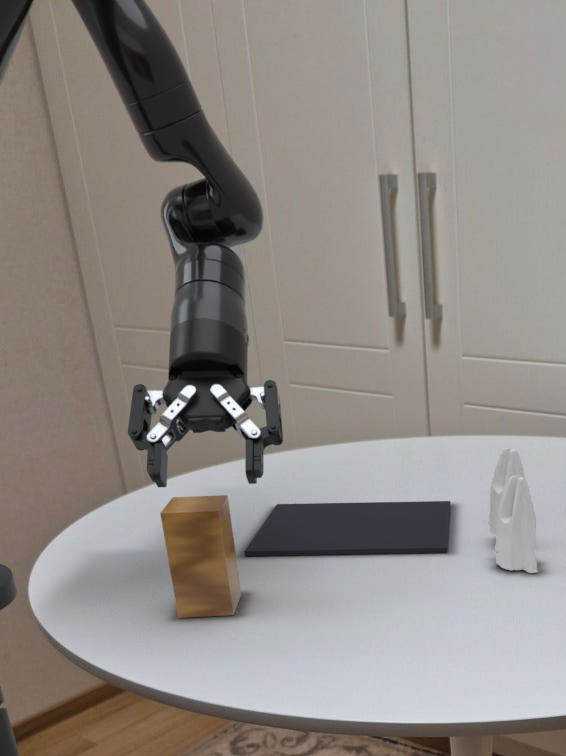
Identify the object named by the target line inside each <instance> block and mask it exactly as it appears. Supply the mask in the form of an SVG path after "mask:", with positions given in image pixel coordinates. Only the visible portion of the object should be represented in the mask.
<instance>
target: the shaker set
mask: <svg viewBox="0 0 566 756" xmlns="http://www.w3.org/2000/svg"><path fill="white" fill-rule="evenodd" d="M489 497H490V499H489V517H488V522H487V524H488V526H489V532H490V533H491V534H492V536H493V537H494V538H495V545H494V551H493V554H494V555H495V563H496V565H498V566H499V567H500V568H502V569H503V570H504V569H505V570H508V571H515V572H516V571H522V570H523V571H525V572H527V574H536V573H538V572H539V571H538V563H537V554H536V544H537V543H536V542H537V541H536V539H537V536H536V535H537V534H536V533H537V517H536V511H535V508H534V504H533V499H532V495H531V491H530V487H529V484H528V481H527V480H526V475H525V470H524V466H523V463H522V459H521V455H520V452H519V451H518V449H516V448H510V447H504V448H503V450H502V451H501V453H500V455H499V458H498V459H497V462H496V466H495V468H494V471H493V476H492V480H491V484H490V496H489Z"/></svg>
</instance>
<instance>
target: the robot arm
mask: <svg viewBox="0 0 566 756" xmlns="http://www.w3.org/2000/svg"><path fill="white" fill-rule="evenodd" d="M70 1H71V3H72V5H73V7H74V8H75V11H76V12H77V14H78V15H79V18H80V19H81V21H82V23H83V25H84V27H85V29H86V31H87V33H88V35H89V37H90V38H91V41H92V42H93V44H94V46H95V48H96V50H97V52H98V54H99V57H100V58H101V60H102V62H103V64H104V66H105V69H106V70H107V72H108V75H109V77H110V79H111V81H112V83H113V85H114V87H115V90H116V92H117V94H118V96H119V98H120V100H121V103H122V104H123V108H124V109H125V111H126V113H127V115H128V117H129V119H130V121H131V123H132V126H133V127H134V130H135V132H136V133H137V136H138V138H139V140H140V142H141V144H142V146H143V148H144V150H145V152H146V153H147V155H148V157H150V159H152V160H153V161H155V162H157V163H160V164H177V163H181V164H188V165H191V166H192V167H194V168H195V169H196V170H197V171H198V172H199V173H200V174H201V175H202V176H203V178H200V179H197V180H193V181H191V182H188V183H185V184H181V185H178V186H175V187H173V188H172V189H170V190H169V191H168V192H167V193H166V194H165V196H164V198H163V199H162V202H161V205H160V209H159V210H160V211H159V212H160V213H159V214H160V220H161V223H162V227H163V231H164V233H165V236H166V237H167V241H168V244H169V249H170V252H171V257H172V262H173V265H174V271H175V272H174V273H175V274H174V298H173V305H172V309H171V314H170V327H169V333H170V334H169V351H168V352H169V353H168V374H167V375H168V380H167V383H166V385H165V387H164V388H163V389H159V390H158V389H147V387H146V385H144V384H143V383H138V384H136V385H134V386H133V389H132V396H131V403H130V411H129V417H128V418H129V419H128V426H127V435H128V436H129V438H130V440H131V441H132V443H133V445H134V447H135V449H136V450H137V451H147V455H146V472H147V475H148V476H149V478H150V480H151V481H152V483H155V484H156V486H157V488H167V485H168V463H169V461H168V460H169V455H168V453H167V452H168V451H169V450H170V448H172V447H173V445H174V444H175V443H176V442H181V441H182V440H183V439H184V438H185V436H187V434H188V433H189V432H190V431H192V433H193V434H201V433H206V432H216V433H226V432H227V431H226V430H227V429H231V428H232V430H233V431H234V432H235V433H236V434H237V435H238V437H240V439H242V440H244V441H245V463H244V464H245V465H244V466H245V469H244V470H245V477H246V480H247V483H248V485H255V484H258V479H261V478H262V477H263V475H264V473H265V472H264V451H265V449H266V448H267V447H269V446H272V445H273V446H281V445H282V444H283V442H284V431H283V419H282V408H281V406H282V405H281V398H280V394H279V390H278V386H277V382H276V381H274V380H273V379H269V380H268V379H267V380H266V381H264V383H263V386H252V387H250V385H249V384H248V347H249V343H250V337H249V334H248V333H249V332H248V330H249V329H248V327H249V326H248V318H247V313H246V270H245V265H244V263H243V261H242V259H241V257H240V256H239V254H237V253H236V252H235V251H234V250H233V249H232V248H234V247H238V246H242V245H245V244H248V243H251V242H253V241H255V240H256V239H258V238H259V236H260V235H261V234H262V231H263V229H264V222H265V221H264V220H265V219H264V218H265V217H264V209H263V205H262V201H261V199H260V197H259V194H258V193H257V191H256V189H255V188H254V186H253V184H252V183H251V181H250V180H249V178H248V177H247V176H246V174H245V173H244V172H243V170H242V169H241V168H240V166H239V165H238V164H237V162H236V161H235V160H234V158H233V157H232V156H231V154H230V153H229V151H228V150H227V149H226V147H225V146H224V144H223V143H222V141H221V139H220V137H218V135H217V134H216V132H215V130H214V129H213V127H212V126H211V123H210V122H209V120H208V118H207V116H206V113H205V111H204V109H203V108H202V104H201V102H200V99H199V97H198V95H197V92H196V90H195V87H194V86H193V83H192V81H191V79H190V76H189V74H188V71H187V69H186V67H185V64H184V62H183V61H182V59H181V57H180V56H181V55H180V54H179V52H178V50H177V49H176V47H175V45H174V43H173V42H172V39H171V38H170V36H169V34H168V33H167V31H166V30H165V28H164V27H163V25H162V23H161V22H160V21H159V19H158V18H157V16H156V15H155V14H154V12H153V10H152V9H151V8H150V5H148V3H147V2H146V0H70ZM34 3H35V0H0V86H1V85H2V83H3V81H4V79H5V77H6V74H7V72H8V69H9V66H10V64H11V61H12V59H13V57H14V54H15V52H16V50H17V47H18V44H19V42H20V40H21V37H22V35H23V32H24V30H25V27H26V24H27V22H28V20H29V16H30V14H31V11H32V8H33V5H34ZM253 401H254V402H257V404H258V406H259V408H260V409H261V410H264V411H265V419H266V426H263V427H260V428H259V427H258V425H256V424H255V423H254V422H253V421H252V420H251V418H250V417H249V416H248V414H247V412H246V410H247V409H248V408H250V406H251V405H252V403H253ZM164 404H165V406H166V407H167V408H166V409H165V410H164V411H163V412H162V413H161V414H160V415H159V419H158V420H159V421H158V422H157V423H156V425H154V426H153V427H152V429H151V423H152V416H153V415H156V414H157V412H158V410H159V407H160V406H161V405H164Z"/></svg>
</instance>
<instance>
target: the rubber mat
mask: <svg viewBox="0 0 566 756" xmlns="http://www.w3.org/2000/svg"><path fill="white" fill-rule="evenodd" d="M450 516H451V501H450V500H432V501H430V500H429V501H427V500H426V501H425V500H424V501H380V502H377V501H374V502H372V501H371V502H369V501H368V502H323V503H321V502H320V503H319V502H317V503H315V502H314V503H313V502H312V503H277V504H275V506H274V508H273V509H272V511H271V512H270V513H269V515H268V516H267V518H266V519H265V521H264V522H263V524H262V525H261V526H260V528H259V529H258V531H257V532H256V534H255V535H254V537H253V538H252V539H251V540H250V542H249V543H248V545H247V546H246V548H245V550H244V551H243V552H244V557H271V556H272V557H274V556H275V557H277V556H279V557H280V556H282V557H283V556H284V557H285V556H286V557H287V556H332V555H334V556H338V555H339V556H340V555H389V554H390V555H393V554H396V555H397V554H398V555H399V554H444V553H448V548H449V533H450V519H451V517H450Z"/></svg>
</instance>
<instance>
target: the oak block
mask: <svg viewBox="0 0 566 756" xmlns="http://www.w3.org/2000/svg"><path fill="white" fill-rule="evenodd" d="M160 519H161V520H160V521H161V527H162V532H163V537H164V543H165V549H166V554H167V560H168V566H169V572H170V577H171V583H172V584H171V585H172V590H173V596H174V601H175V606H176V607H175V608H176V612H177V618H178V619H189V618H206V617H225V616H226V617H227V616H234V615H235V613H236V610H237V607H238V604H239V602H240V599H241V597H242V590H241V583H240V577H239V576H240V575H239V567H238V559H237V554H236V553H237V552H236V546H235V539H234V532H233V524H232V517H231V510H230V504H229V496H228V494H224V495H222V494H220V495H199V496H197V495H196V496H194V495H193V496H173V497H172V498H171V499H170V500H169V502H168V503H167V504H166V505H165V506H164V508H163V509H162V510H161V512H160Z"/></svg>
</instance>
